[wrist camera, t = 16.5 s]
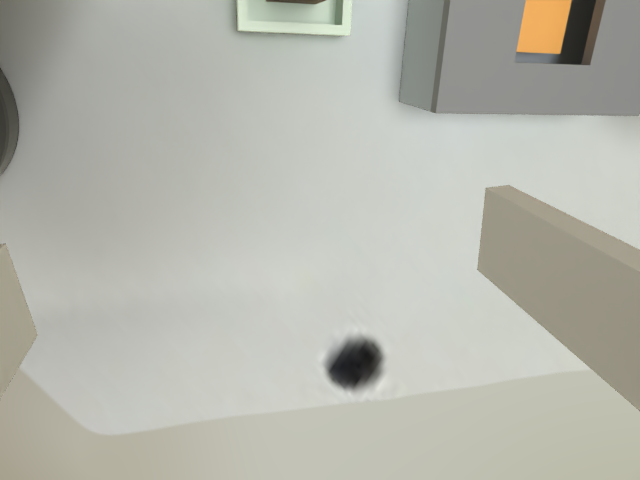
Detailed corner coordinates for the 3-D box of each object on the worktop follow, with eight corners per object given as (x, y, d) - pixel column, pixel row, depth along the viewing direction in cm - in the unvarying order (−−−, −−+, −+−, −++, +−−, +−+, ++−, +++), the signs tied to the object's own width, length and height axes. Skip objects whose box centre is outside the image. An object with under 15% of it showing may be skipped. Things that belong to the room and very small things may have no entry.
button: (491, 51, 39) (504, 51, 37) (502, -17, 37) (517, -20, 35) (544, 53, 40) (560, 53, 38) (558, -13, 38) (575, -16, 36)
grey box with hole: (398, 101, 42) (435, 113, 35) (416, -82, 37) (464, -113, 30) (572, 104, 46) (638, 115, 39) (611, -63, 40) (697, -86, 33)
